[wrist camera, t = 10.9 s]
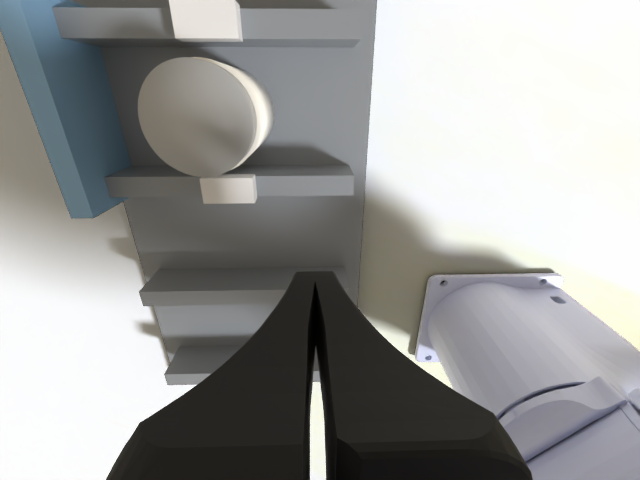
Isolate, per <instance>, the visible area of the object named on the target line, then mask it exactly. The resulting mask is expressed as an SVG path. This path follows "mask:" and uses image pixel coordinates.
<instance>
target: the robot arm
mask: <svg viewBox="0 0 640 480" xmlns="http://www.w3.org/2000/svg"><path fill="white" fill-rule="evenodd" d="M444 280H445V282H444V283H442V284H440V283H441V281H444ZM540 280H542V281H540ZM563 281H564V278H563V277H562V276H561V275H560V274H558V273H528V274H460V275H433V276H431V277H430V278H429V279H428V283H427V288H426V294H425V300H424V305H423V311H422V316H421V322H420V328H419V333H418V339H417V344H416V350H415V358H416V360H417V361H418V362H441V364H442V366H443V368H444V371H445V373H446V375H447V377H448V379H449V381H450V383H451V385H452V387H453V389H454V390H453V389H451V388H450V387H448V386H446V385H445V384H443V383H442V382H441V381H439V380H438V379H436V378H435V377H433V376H432V375H430V374H429V373H427V372H426V371H424V370H423V369H422V368H420V367H419V366H418V365H416V364H415V363H414V362H412V361H411V360H410V359H409V358H407V357H406V356H405V355H403V354H402V353H401V352H400V351H398V350H397V349H396V348H395V347H394V346H393V345H392V344H391V343H389V342H388V341H387V340H386V339H385V338H384V337H383V336H382V335H381V334H380V333H379V332H378V331H377V330H376V329H375V328H374V327H373V326H372V324H371V323H370V322H369V321H368V320H367V319H366V318H365V316H364V315H363V314H362V313H361V312H360V310H359V309H358V308H357V307H356V305H355V304H354V303H353V301H352V300H351V299H350V297H349V296H348V294H347V293H346V291H345V290H344V288H343V287H342V285H341V283H340V282H339V280H338V278H337V276H336V274H335V273H334V272H333V271H304V272H296V273H295V274H294V276H293V279H292V281H291V283H290V285H289V287H288V288H287V290H286V292H285V293H284V295H283V297H282V298H281V300H280V301H279V303H278V304H277V306H276V307H275V309H274V310H273V311H272V312H271V314H270V315H269V316H268V318H267V319H266V320H265V322H264V323H263V324H262V325H261V327H260V328H259V329H258V330H257V331H256V332H255V333H254V335H253V336H252V337H251V338H250V339H249V340H248V341H247V342H246V343H245V344H244V345H243V346H242V347H241V348H240V349H239V350H238V351H237V352H236V353H235V354H234V355H233V356H232V357H231V358H229V359H228V360H227V361H226V362H225V363H224V364H223V365H222V366H220V367H219V368H218V369H217V370H216V371H214V372H213V373H212V374H210V375H209V376H208V377H207V378H205V379H204V380H203V381H202V382H200V383H199V384H198V385H196V386H195V387H194V388H192V389H191V390H190V391H188V392H187V393H185V394H184V395H182V396H181V397H179V398H178V399H176V400H175V401H173V402H172V403H170V404H169V405H167V406H166V407H164V408H163V409H161V410H159V411H158V412H156V413H155V414H153V415H152V416H150V417H149V418H147V419H145V420H144V421H142V422H140V423H139V425H138V427H137V428H136V430H135V432H134V433H133V435H132V436H131V438H130V439H129V441H128V442H127V443H126V445H125V446H124V448H123V450H122V452H121V453H120V455H119V457H118V458H117V460H116V462H115V464H114V466H113V467H112V469H111V471H110V473H109V475H108V477H107V479H106V480H310V405H311V394H312V382H313V371H314V359H315V348H316V351H317V359H318V367H319V375H320V383H321V392H322V400H323V409H324V422H325V451H326V480H640V352H639V351H638V350H637V349H636V348H635V347H634V346H633V345H632V344H631V343H629V342H628V341H627V340H626V339H624V338H623V337H622V336H620V335H619V334H618V333H617V332H615V331H614V330H613V329H612V328H610V327H609V326H608V325H606V324H605V323H604V322H603V321H601V320H600V319H599V318H597V317H596V316H595V315H594V314H592V313H591V312H590V311H588V310H587V309H586V308H585V307H583V306H582V305H581V304H579V303H578V302H577V301H576V300H574V299H573V298H572V297H571V296H569V295H568V294H567V293H565V292H564V291H563V290H562V289H561V286H562V284H563ZM428 355H429V356H428Z"/></svg>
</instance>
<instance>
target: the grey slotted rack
mask: <svg viewBox="0 0 640 480" xmlns="http://www.w3.org/2000/svg"><path fill="white" fill-rule="evenodd" d="M376 8H377V0H0V29H1V32H2V35H3V37H4V40H5V43H6V45H7V48H8V51H9V53H10V56H11V59H12V61H13V64H14V67H15V69H16V72H17V75H18V77H19V80H20V83H21V85H22V88H23V91H24V93H25V96H26V99H27V101H28V104H29V107H30V109H31V112H32V115H33V117H34V120H35V123H36V126H37V128H38V131H39V134H40V136H41V139H42V142H43V144H44V147H45V150H46V152H47V155H48V158H49V160H50V163H51V166H52V168H53V171H54V174H55V176H56V179H57V182H58V184H59V187H60V190H61V192H62V195H63V198H64V200H65V203H66V206H67V208H68V211H69V214H70V216H71V218H95V217H96V216H98V215H100V214H102V213H103V212H105V211H107V210H109V209H110V208H112V207H114V206H116V205H117V204H119V203H121V202H124V206H125V209H126V213H127V216H128V220H129V223H130V226H131V230H132V233H133V237H134V240H135V244H136V247H137V251H138V254H139V258H140V261H141V264H142V268H143V271H144V275H145V278H146V282H147V283H146V284H145V286H144V287H143V288H142V289H141V290H140V291H139V293H140V297H141V300H142V303H143V306H154V309H155V313H156V316H157V320H158V323H159V327H160V330H161V334H162V337H163V340H164V344H165V347H166V351H167V354H168V358H169V361H170V365H169V367H168V369H167V370H166V372H165V374H164V375H165V378H166V381H167V385H193V384H199V383H200V382H202V381H203V380H204V379H205V378H207V377H208V376H209V375H210V374H212V373H213V372H214V371H216V370H217V369H218V368H219V367H220V366H222V365H223V364H224V363H225V362H226V361H227V360H228V359H229V358H231V357H232V356H233V355H234V354H235V353H236V352H237V351H238V350H239V349H240V348H241V347H242V346H243V345H244V344H245V343H246V342H247V341H248V340H249V339H250V338H251V337H252V336H253V335H254V333H255V332H256V331H257V330H258V329H259V328H260V327H261V325H262V324H263V323H264V322H265V320H266V319H267V318H268V316H269V315H270V314H271V312H272V311H273V310H274V309H275V307H276V306H277V304H278V303H279V301H280V300H281V298H282V297H283V295H284V293H285V292H286V290H287V288H288V287H289V285H290V283H291V281H292V279H293V276H294V274H295V273H296V272H304V271H333V272H334V273H335V274H336V276H337V278H338V280H339V282H340V283H341V285H342V287H343V288H344V290H345V291H346V293H347V294H348V296H349V297H350V299H351V300H352V301H353V303H354V304H355V305H356V307H357V304H358V288H359V273H360V257H361V242H362V226H363V210H364V195H365V179H366V164H367V148H368V133H369V117H370V101H371V86H372V70H373V55H374V39H375V24H376ZM181 57H203V58H208V59H212V60H215V61H218V62H220V63H223V64H226V65H229V66H232V67H235V68H238V69H241V70H243V71H246V72H248V73H250V74H252V75H253V76H255V77H256V78H257V79H258V80H259V81H260V82H261V83H262V84H263V85H264V86H265V88H266V89H267V91H268V93H269V95H270V97H271V100H272V103H273V108H274V122H273V127H272V129H271V132H270V134H269V136H268V137H267V139H266V140H265V141H264V142H263V143H262V144H261V145H260V146H259V147H258V148H257V149H256V150H255V151H254V152H253V153H252V154H251V155H250V156H249V157H248V158H247V159H246V160H245V161H244V162H243V163H242V164H240V165H239V166H238V167H236V168H234V169H232V170H229V171H227V172H225V173H223V174H220V175H217V176H212V177H197V176H192V175H188V174H185V173H183V172H180V171H178V170H176V169H174V168H173V167H171V166H170V165H168V164H167V163H165V162H164V161H163V160H162V159H161V158H160V157H159V156H158V155H157V154H156V153H155V152H154V150H153V149H152V148H151V146H150V145H149V143H148V142H147V140H146V138H145V136H144V134H143V131H142V129H141V125H140V122H139V116H138V98H139V93H140V90H141V87H142V84H143V82H144V81H145V79H146V77H147V76H148V75H149V73H150V72H151V71H152V70H153V69H154V68H155V67H157V66H158V65H160V64H161V63H163V62H165V61H168V60H170V59H174V58H181ZM313 382H320V375H319V367H318V359H317V351H316V348H315V359H314V371H313Z"/></svg>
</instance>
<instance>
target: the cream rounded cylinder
mask: <svg viewBox="0 0 640 480" xmlns="http://www.w3.org/2000/svg"><path fill="white" fill-rule="evenodd" d="M138 116H139V122H140V125H141V129H142V131H143V134H144V136H145V138H146V140H147V142H148V143H149V145H150V146H151V148H152V149H153V150H154V152H155V153H156V154H157V155H158V156H159V157H160V158H161V159H162V160H163V161H164V162H165V163H167V164H168V165H170V166H171V167H173V168H174V169H176V170H178V171H180V172H183V173H185V174H188V175H192V176H197V177H212V176H217V175H220V174H223V173H225V172H227V171H229V170H232V169H234V168H236V167H238V166H239V165H240V164H242V163H243V162H244V161H245V160H246V159H247V158H248V157H249V156H250V155H251V154H252V153H253V152H254V151H255V150H256V149H257V148H258V147H259V146H260V145H261V144H262V143H263V142H264V141H265V140H266V139H267V137H268V136H269V134H270V132H271V129H272V127H273V122H274V108H273V103H272V100H271V97H270V95H269V93H268V91H267V89H266V88H265V86H264V85H263V84H262V83H261V82H260V81H259V80H258V79H257V78H256V77H255V76H253V75H252V74H250V73H248V72H246V71H243V70H241V69H238V68H235V67H232V66H229V65H226V64H223V63H220V62H218V61H215V60H212V59H208V58H203V57H181V58H174V59H170V60H168V61H165V62H163V63H161V64H160V65H158V66H157V67H155V68H154V69H153V70H152V71H151V72H150V73H149V75H148V76H147V77H146V79H145V81H144V82H143V84H142V87H141V90H140V93H139V98H138Z"/></svg>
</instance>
